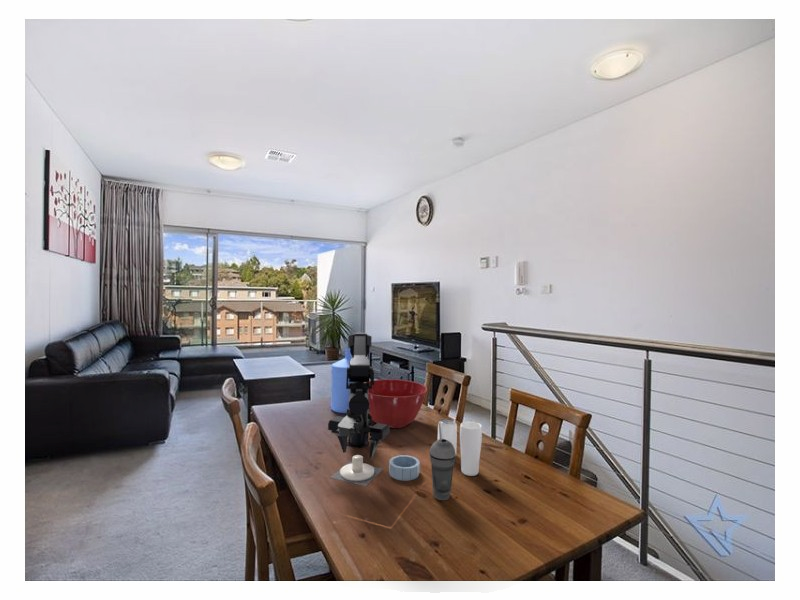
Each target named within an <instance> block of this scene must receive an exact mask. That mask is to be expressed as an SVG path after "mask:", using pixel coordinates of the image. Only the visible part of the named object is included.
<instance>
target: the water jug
mask: <svg viewBox="0 0 800 600" xmlns="http://www.w3.org/2000/svg"><path fill="white" fill-rule="evenodd" d="M344 354H345V357H343V358H342V359H340V360H338V361H336V362H334V363H332V364H331V372H330V375H331V381H330V382H331V386H330V399H331V400H330V409H331V411H333V412H334V413H338V414H347V409H348V408H349V397H350V389H346V380H347V367H349V363H350V360H351V359H352V358H353V357H352V355H351V353H350V348H345V352H344ZM350 383H354V382H349V379H348V385H350Z"/></svg>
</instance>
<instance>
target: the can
mask: <svg viewBox="0 0 800 600" xmlns="http://www.w3.org/2000/svg"><path fill="white" fill-rule="evenodd" d="M439 423H440V424H441V436H442V439H446V440H448V441H450V442H451V443H452V445H453V446H454V449H455V454H456V455H457V446H458V444H457V443H458V438H457V437H458V426H457V425H458V424H457V421H456V420H455V419H452V418H441V419H439V422H438V424H437V440H439V439H440V434H439Z"/></svg>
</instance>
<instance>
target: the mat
mask: <svg viewBox="0 0 800 600" xmlns="http://www.w3.org/2000/svg"><path fill="white" fill-rule="evenodd" d="M351 463H352V460H350V461H349V462H347V463H346V464H345V465H348V464H351ZM371 466H372V467H373V468H374V475H373V476H372V477H371V478H369V479H367V480H363V481H349V480H346V479H344V478H342V477H341V475H340V470H341V468H339V470H337V471H336V472H335V473H333V474H332V475H331V476H330V477H329V478H330V479H335V480H339V481H343V482H346V483H351V484H355V485H359V486H363V487H366V486H368V485H369V484H370V482H371V481H373V480H374V479H375V478H376V477H377V476H378V475H379V474H380V473H381V472H382V471H383V470H384V468H382V467H378V466H374V465H371Z"/></svg>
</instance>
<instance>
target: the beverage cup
mask: <svg viewBox="0 0 800 600" xmlns="http://www.w3.org/2000/svg"><path fill="white" fill-rule="evenodd" d="M438 424H439V434H440V439H439V440H438V439H437V440H435V441H434V442H433V443H432V444H431V446H430V449H429V450H430V451H429V458H430V459H429V460H430V462H431V481H432V483H431V484H432V493H433V498H434V499H436V500H439V501H446V500H448V499H450V498H451V491H452V484H453V483H452V481H453V474H454V465H455V461H456V457H457V453H456V454H455V449H454V446H453V445H452V443H451V442H450V441H448V440H446V439H442V436H441V424H440V423H439V422H438Z"/></svg>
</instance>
